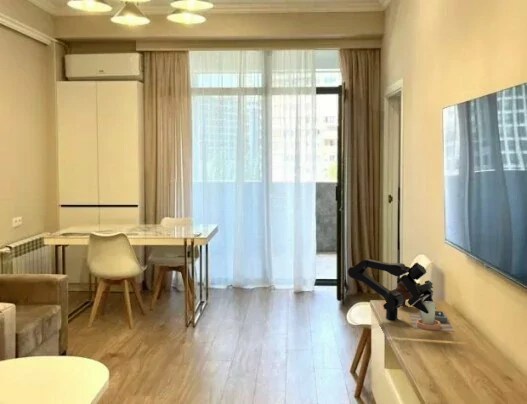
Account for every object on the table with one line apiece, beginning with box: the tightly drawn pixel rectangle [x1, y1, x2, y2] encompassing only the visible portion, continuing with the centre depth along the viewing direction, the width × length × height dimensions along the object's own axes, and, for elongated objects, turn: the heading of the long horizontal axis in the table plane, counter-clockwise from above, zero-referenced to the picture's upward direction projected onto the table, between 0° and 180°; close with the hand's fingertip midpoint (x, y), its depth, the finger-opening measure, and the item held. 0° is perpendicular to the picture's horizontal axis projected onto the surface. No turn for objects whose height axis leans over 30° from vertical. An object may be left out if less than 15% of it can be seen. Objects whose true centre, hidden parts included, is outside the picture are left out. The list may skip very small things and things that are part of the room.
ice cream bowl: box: [395, 282, 413, 308], centre depth 328 cm, size 11×11×15 cm
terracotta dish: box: [416, 319, 441, 331], centre depth 291 cm, size 11×11×2 cm
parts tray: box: [419, 310, 448, 323], centre depth 304 cm, size 12×12×3 cm
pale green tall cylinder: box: [422, 301, 436, 325], centre depth 291 cm, size 6×6×12 cm
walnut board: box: [408, 312, 456, 333], centre depth 298 cm, size 29×19×1 cm, turn 171°
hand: (431, 311), depth 290 cm, fingers open, 9 cm apart
